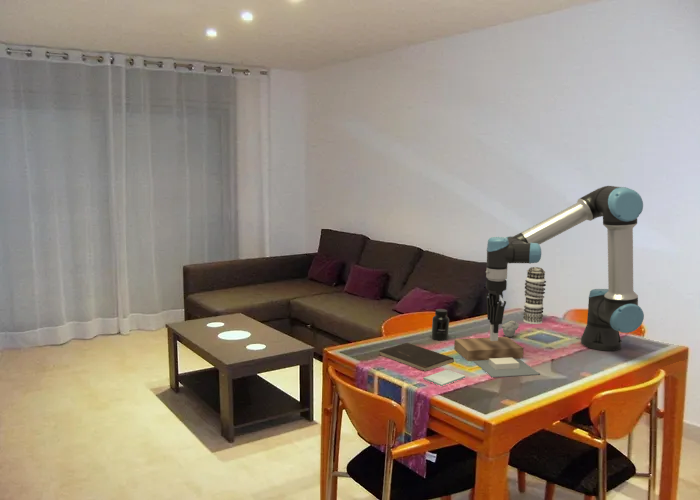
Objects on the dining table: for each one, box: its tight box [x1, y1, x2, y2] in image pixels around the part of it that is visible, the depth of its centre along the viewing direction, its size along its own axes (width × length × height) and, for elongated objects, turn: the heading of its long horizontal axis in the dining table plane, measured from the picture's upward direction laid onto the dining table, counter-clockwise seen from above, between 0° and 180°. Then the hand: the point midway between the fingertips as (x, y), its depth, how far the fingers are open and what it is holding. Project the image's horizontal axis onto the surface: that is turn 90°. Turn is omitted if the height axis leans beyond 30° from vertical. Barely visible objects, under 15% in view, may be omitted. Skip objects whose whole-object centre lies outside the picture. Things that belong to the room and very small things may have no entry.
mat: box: [473, 358, 541, 378], centre depth 219 cm, size 18×16×1 cm
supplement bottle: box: [431, 308, 450, 341], centre depth 251 cm, size 7×7×12 cm
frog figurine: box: [501, 320, 520, 338], centre depth 255 cm, size 6×7×7 cm
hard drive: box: [422, 369, 466, 386], centre depth 207 cm, size 2×8×12 cm
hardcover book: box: [378, 342, 455, 372], centre depth 227 cm, size 16×23×2 cm
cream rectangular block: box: [489, 357, 519, 370], centre depth 220 cm, size 9×6×2 cm, turn 100°
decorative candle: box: [522, 266, 547, 325], centre depth 277 cm, size 9×9×25 cm
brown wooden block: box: [453, 336, 524, 362], centre depth 234 cm, size 22×14×4 cm, turn 101°
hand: (493, 340), depth 229 cm, fingers closed
